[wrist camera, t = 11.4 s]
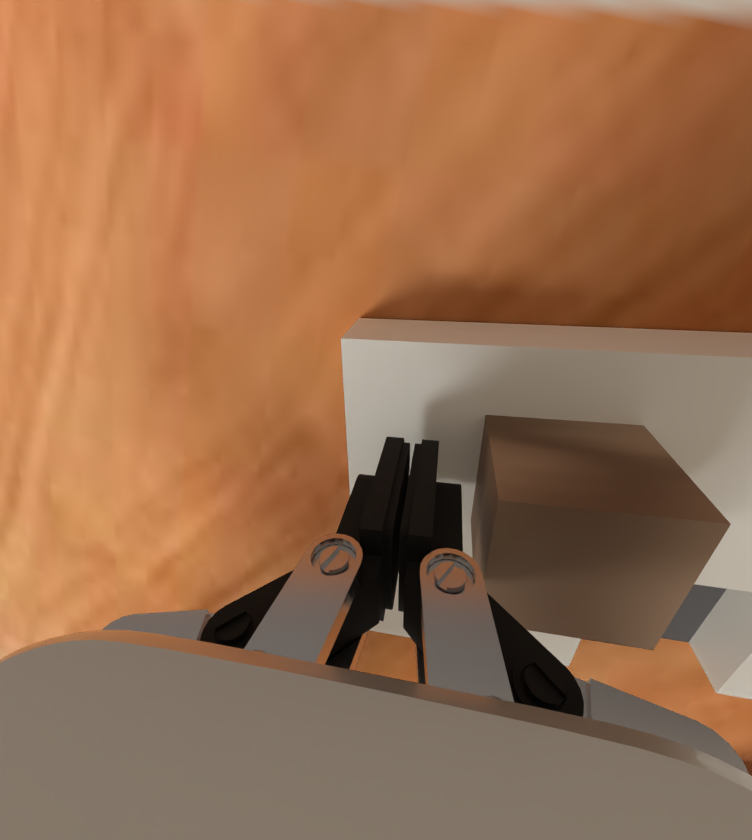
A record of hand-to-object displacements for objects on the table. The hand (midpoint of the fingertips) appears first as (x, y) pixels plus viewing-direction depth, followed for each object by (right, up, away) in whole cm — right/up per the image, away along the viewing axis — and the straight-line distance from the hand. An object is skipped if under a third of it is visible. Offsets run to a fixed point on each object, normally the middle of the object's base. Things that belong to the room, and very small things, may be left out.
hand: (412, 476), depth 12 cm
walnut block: (+5, 0, 0) cm, 5 cm away
